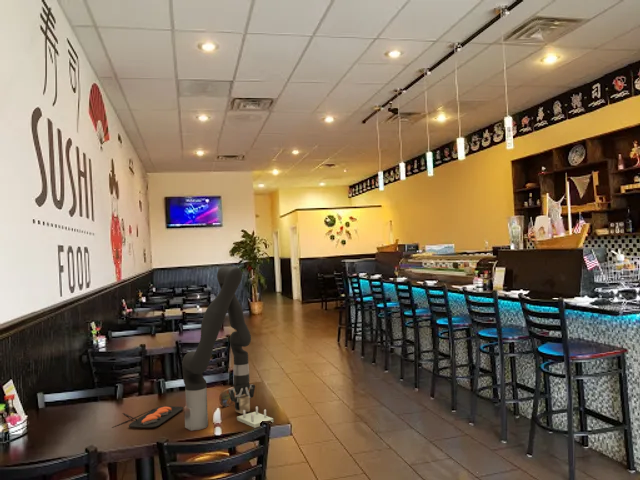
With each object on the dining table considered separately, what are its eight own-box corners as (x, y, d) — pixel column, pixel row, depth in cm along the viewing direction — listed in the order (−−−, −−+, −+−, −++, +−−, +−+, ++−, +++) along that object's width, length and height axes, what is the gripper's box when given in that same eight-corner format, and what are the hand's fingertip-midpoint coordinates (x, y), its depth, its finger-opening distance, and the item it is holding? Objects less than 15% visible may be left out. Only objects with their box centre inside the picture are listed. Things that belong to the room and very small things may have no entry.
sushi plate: (155, 431, 222) (155, 422, 222) (95, 429, 228) (94, 421, 228) (185, 410, 250) (185, 402, 250) (131, 409, 256) (131, 401, 256)
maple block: (240, 413, 238) (240, 398, 238) (235, 411, 242) (235, 396, 242) (249, 411, 241) (249, 396, 241) (244, 409, 245) (243, 394, 245)
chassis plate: (254, 427, 219) (254, 416, 219) (236, 420, 230) (236, 409, 231) (273, 422, 225) (273, 410, 226) (255, 414, 237) (254, 404, 237)
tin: (222, 408, 249) (222, 391, 249) (218, 407, 250) (217, 390, 251) (244, 400, 260) (243, 384, 261) (240, 399, 262) (239, 383, 263)
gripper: (232, 377, 234) (233, 413, 234) (258, 371, 244) (259, 406, 243) (224, 374, 240) (225, 410, 240) (249, 369, 249) (251, 403, 249)
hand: (242, 408), depth 241 cm, fingers closed on maple block, 5 cm apart
